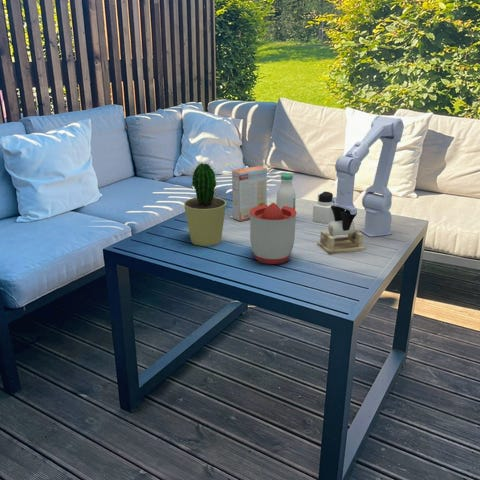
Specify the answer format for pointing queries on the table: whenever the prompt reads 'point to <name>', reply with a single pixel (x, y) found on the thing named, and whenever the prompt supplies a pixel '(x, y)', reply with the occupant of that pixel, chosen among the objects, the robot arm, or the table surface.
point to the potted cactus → (205, 208)
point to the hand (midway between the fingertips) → (342, 227)
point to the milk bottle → (286, 192)
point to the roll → (339, 228)
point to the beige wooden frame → (341, 243)
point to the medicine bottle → (323, 208)
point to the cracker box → (248, 190)
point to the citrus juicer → (272, 233)
